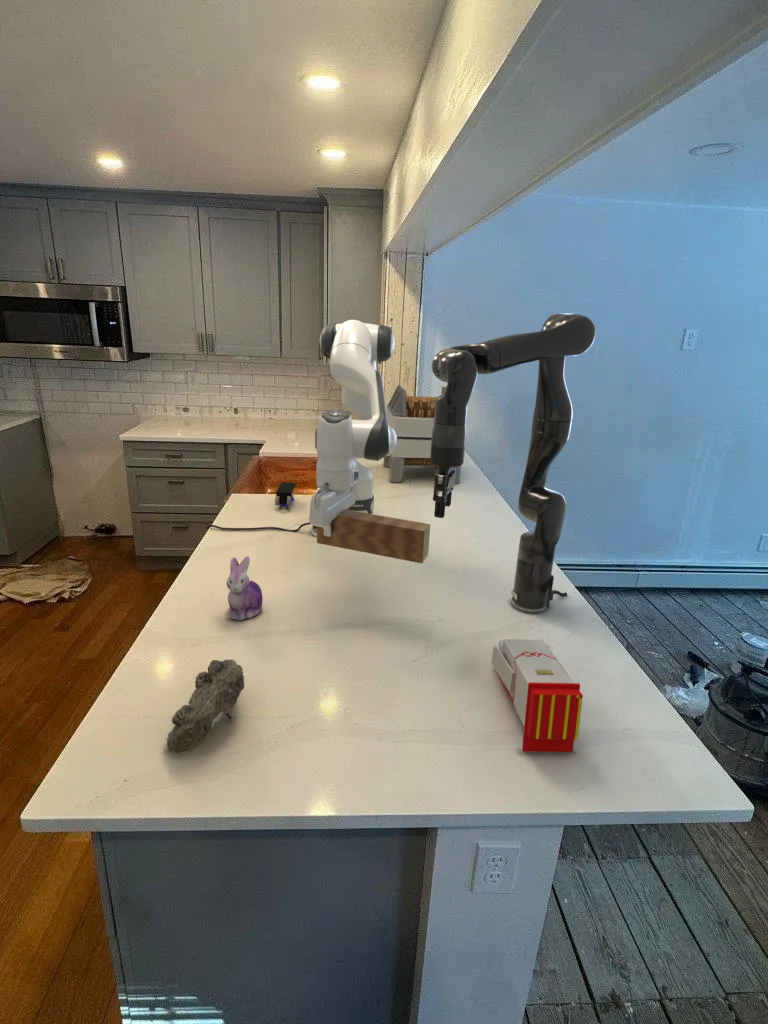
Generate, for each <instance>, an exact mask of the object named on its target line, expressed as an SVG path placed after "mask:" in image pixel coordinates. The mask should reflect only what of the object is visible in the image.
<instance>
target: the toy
mask: <svg viewBox="0 0 768 1024" xmlns="http://www.w3.org/2000/svg"><path fill="white" fill-rule="evenodd" d="M491 665H492V667H493V668H494V671H495V673H496V674H497V677H498V678H499V680H500V682H501V684H502V686H503V687H504V689H505V691H506V693H507V695H508V696H509V699H510V700H511V702H512V703H513V706H514V708H515V711H516V713H517V715H518V717H519V719H520V722H521V723H522V726H523V737H522V747H521V751H522V752H523V753H524V752H525V753H527V752H528V753H532V752H533V753H534V752H535V753H573V752H574V744H575V740H578V739H579V732H580V724H581V723H580V722H581V714H582V705H583V696H584V694H583V693H582V692H581V684H580V683H579V682H574V681H573V679H572V677H570V675H569V674H568V673H567V671H566V670H565V668H564V667H563V665H562V664H561V662H560V661H559V659H557V657H556V656H555V654H554V652H553V651H552V649H551V648H550V646H549V645H548V644H547V643H546V641H545V640H544V639H522V638H521V639H517V638H503V640H499V642H498V646H497V644H494V645H493V649H492V656H491Z"/></svg>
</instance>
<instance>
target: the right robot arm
mask: <svg viewBox="0 0 768 1024" xmlns="http://www.w3.org/2000/svg"><path fill="white" fill-rule="evenodd" d="M595 338H596V327H595V323H594V322H593V320H592V319H591V318H589V317H588V316H586V315H584V314H579V313H564V312H563V313H562V312H561V313H559V312H558V313H552V314H551V315H549V316H548V317H547V318H546V319H545V321H544V322H543V325H542V327H541V330H539V331H533V332H525V333H524V332H523V333H516V334H515V333H514V334H508V335H502V336H497V337H494V338H491V339H487V340H484V341H481V342H477V343H471V344H463V345H457V346H450V347H447V348H443V349H442V350H440V351H439V352H437V353H436V354H435V356H434V357H433V359H432V362H431V371H432V373H433V375H434V377H435V378H437V380H439V381H441V382H444V383H446V387H447V388H446V391H445V394H443V395H441V394H440V395H438V396H437V397H438V398H437V399H436V403H435V416H434V425H433V430H432V441H431V455H430V461H431V463H432V464H434V465H438V466H439V469H438V468H437V471H436V472H435V475H434V483H433V496H432V501H433V502H434V512H433V513H434V514H433V516H434V517H435V518H438V519H444V517H445V515H446V507H451V505H452V497H453V496H452V495H453V493H452V492H453V490H454V489H455V488H454V487H455V485H456V483H455V475H456V467H458V466H461V467H462V466H463V465H464V463H465V454H466V453H465V451H466V441H467V418H468V417H467V416H468V404H469V403H470V400H471V397H472V394H473V391H474V388H475V385H476V382H477V378H478V375H491V374H493V373H497V372H501V371H503V370H507V369H511V368H514V367H517V366H521V365H525V364H529V363H533V362H537V361H538V375H537V376H538V377H537V384H536V385H537V386H536V393H535V403H534V409H533V415H532V421H531V429H530V430H531V431H530V441H529V447H528V451H527V452H528V454H527V460H526V465H525V470H524V474H523V478H522V483H521V486H520V491H519V495H518V501H517V502H518V503H517V507H518V512H519V513H520V515H521V516H522V517H523V518H524V519H527V520H529V521H531V522H533V523H535V526H534V530H529V531H526V532H523V533H522V534H520V537H519V543H518V552H517V560H516V566H515V574H514V580H513V581H514V582H513V588H512V589H511V593H510V595H511V600H510V604H511V605H512V606H513V608H515V609H516V610H519V611H521V612H524V613H529V614H538V613H543V612H545V611H546V610H547V609H549V608H550V604H551V601H553V600H554V595H558V596H560V597H562V598H563V597H567V596H568V592H561V591H559V590H554V589H553V585H554V579H555V576H554V575H553V574H552V571H553V565H554V559H555V554H556V553H555V552H556V548H557V545H558V542H559V541H560V538H561V534H562V531H563V525H564V521H565V516H566V511H567V502H566V499H565V497H564V495H563V494H561V493H560V492H558V491H555V490H552V489H549V488H547V478H548V474H549V470H550V468H551V465H552V463H553V462H554V460H555V459H556V458H557V457H558V456H559V454H561V452H562V450H564V448H565V446H566V445H567V443H568V441H569V438H570V436H571V435H570V434H571V430H572V429H571V428H572V422H573V417H574V414H573V413H574V412H573V411H574V410H573V405H572V400H571V397H570V394H569V391H568V387H567V384H566V380H565V365H566V364H565V363H566V358H567V357H576V356H581V355H582V354H584V353H586V352H587V351H589V349H590V348H591V347H592V345H594V341H595ZM439 493H441V495H439Z"/></svg>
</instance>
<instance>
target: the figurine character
mask: <svg viewBox="0 0 768 1024" xmlns="http://www.w3.org/2000/svg"><path fill="white" fill-rule="evenodd" d="M296 485H297V483H296V482H286V481H285V482H284V481H280V483H279V486H278V487H277V490H276V491H275V497H274V498H275V499H274V506H278V509H279V510H282V507H285V508H286V510H288V509H289V507H290V506H292V503H294V502H295V499H294V497H295V493H294V490H295V487H296Z"/></svg>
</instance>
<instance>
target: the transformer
mask: <svg viewBox="0 0 768 1024" xmlns="http://www.w3.org/2000/svg"><path fill="white" fill-rule="evenodd" d="M446 388H447V386H442V387H441V392H440V393H441V394H440V395H443V394H445V391H446ZM407 394H408V393H407V390H406V389H404V388H403V387H402V385H399V384H398V385H397V386H396V388H395V390H394V392H393V394H392V395H391V398H390V400H389V402H388V404H387V405H386V414H387V423H388V425H389V426H390V427H392V428H393V430H394V431H395V433H396V435H397V446H396V449H395V450H394V452H393V453H392V454H391V455H390V456H385V457H383V466H384V467H388V468H389V475H388V476H389V477H388V478H389V480H390V482H391V483H402V482H403V475H404V469H405V466H406V467H407V466H411V467H412V466H413V467H415V466H416V467H417V466H418V467H436V468H437V470H438V469H439V466H438V465H434V464H432V463H431V461H430V455H431V441H432V430H433V425H434V416H435V403H436V399H437V398H438V397H439V396H415V395H414V396H413V395H412V396H411V395H407ZM461 472H462V465H461V466H458V467H456V475H455V484H459V483H461Z"/></svg>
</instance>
